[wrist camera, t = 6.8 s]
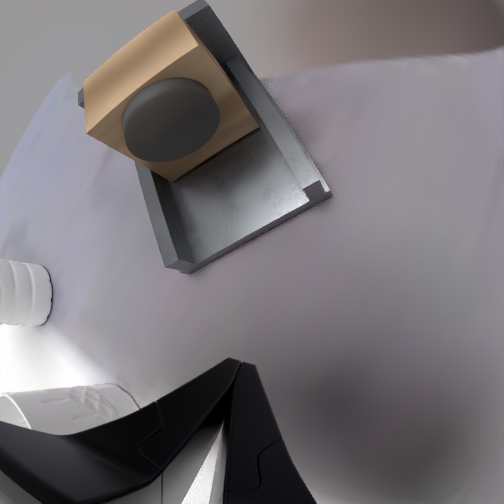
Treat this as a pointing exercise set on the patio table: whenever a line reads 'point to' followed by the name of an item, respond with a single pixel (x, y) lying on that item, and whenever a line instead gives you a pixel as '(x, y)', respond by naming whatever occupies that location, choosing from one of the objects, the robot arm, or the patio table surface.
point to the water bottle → (24, 293)
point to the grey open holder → (230, 171)
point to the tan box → (165, 100)
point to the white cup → (66, 408)
